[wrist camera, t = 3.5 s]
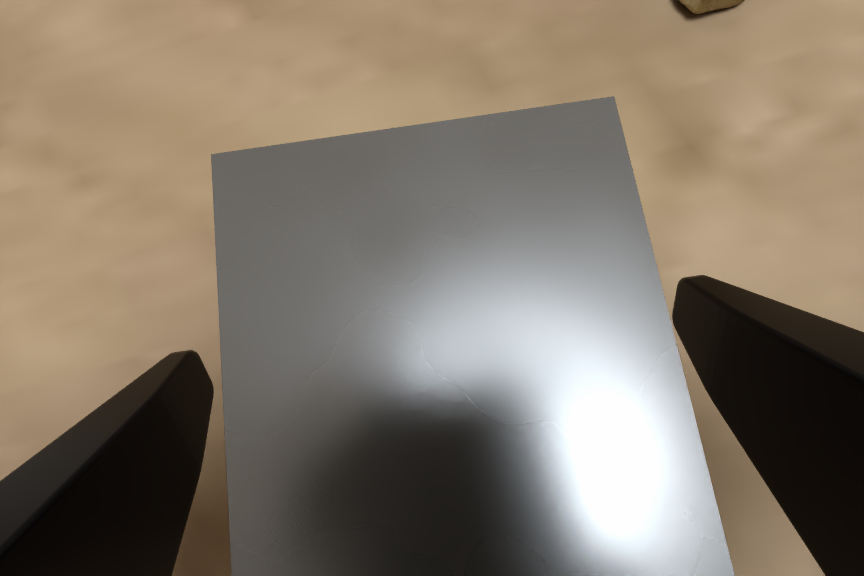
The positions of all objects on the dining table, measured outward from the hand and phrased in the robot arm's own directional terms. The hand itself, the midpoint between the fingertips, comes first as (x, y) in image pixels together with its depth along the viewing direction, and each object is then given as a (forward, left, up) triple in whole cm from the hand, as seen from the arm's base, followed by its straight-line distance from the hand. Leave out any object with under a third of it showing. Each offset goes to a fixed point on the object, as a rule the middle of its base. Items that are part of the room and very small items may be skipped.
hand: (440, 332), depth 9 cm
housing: (-1, -1, -7) cm, 7 cm away
